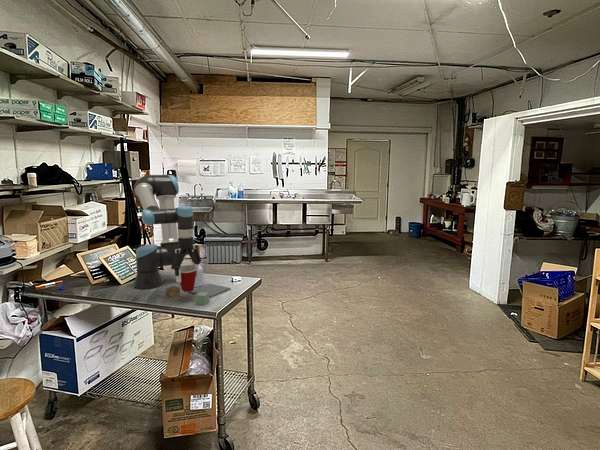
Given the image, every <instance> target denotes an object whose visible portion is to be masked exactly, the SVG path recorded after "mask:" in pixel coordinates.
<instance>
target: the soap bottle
mask: <svg viewBox="0 0 600 450" xmlns="http://www.w3.org/2000/svg"><path fill="white" fill-rule="evenodd" d="M193 245H196V244H193ZM197 245H198V252H199V255H200V254H201V246H200V245H199V244H197ZM193 264H195V263H194V262H193V261H192V260H191V264H190V265H193ZM201 286H204V269H203V266H202V265H201V264H198V277H195V284H194V288H198V287H201Z"/></svg>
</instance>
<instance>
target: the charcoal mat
mask: <svg viewBox="0 0 600 450" xmlns="http://www.w3.org/2000/svg"><path fill="white" fill-rule="evenodd" d="M230 290H231V287H229V286H223V285H218V284H214V283H213V284H212V283H206V284H203V285H202V286H200V287H195V288H194V289H193V291H189V292H188V293H189V294H193V295H196V294H198V293H199V292H207V293H209V299H212V298H214V297H216V296H218V295H221V294H223V293H226V292H228V291H230Z"/></svg>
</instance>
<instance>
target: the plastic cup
mask: <svg viewBox="0 0 600 450" xmlns="http://www.w3.org/2000/svg"><path fill="white" fill-rule="evenodd" d="M179 269H181V282H179V284H180V290H181V291H182V292H185V293H187V292H188V293H189V291H193V289H195V287H194V284H195V277H196V271H197V269H198V267H197V266H195V265H191V264H185V265H181V266H180V268H179Z"/></svg>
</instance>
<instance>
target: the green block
mask: <svg viewBox="0 0 600 450" xmlns="http://www.w3.org/2000/svg"><path fill="white" fill-rule="evenodd" d="M194 295H195V296H194V298H195V300H194V301H195V305H198V306H206V305H208V304H209V303H210V298H209V293H207V292H199V293H198V294H194Z"/></svg>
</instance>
